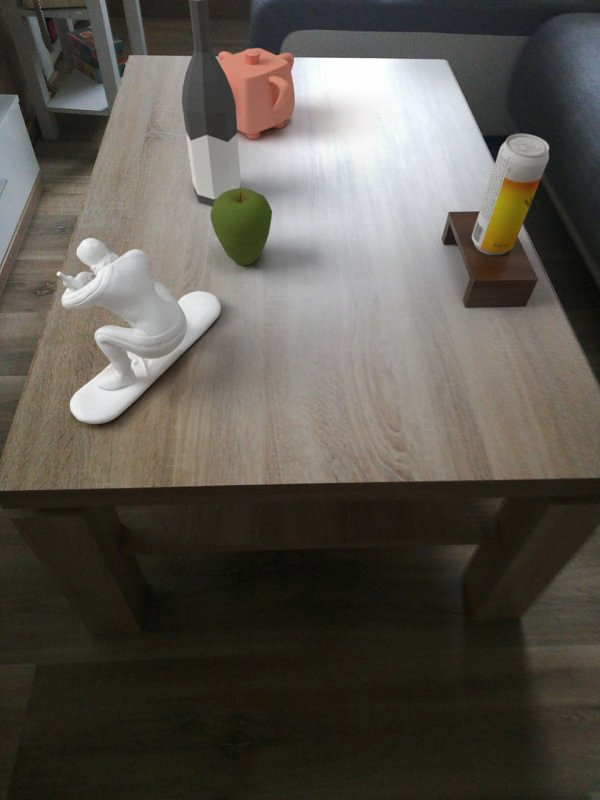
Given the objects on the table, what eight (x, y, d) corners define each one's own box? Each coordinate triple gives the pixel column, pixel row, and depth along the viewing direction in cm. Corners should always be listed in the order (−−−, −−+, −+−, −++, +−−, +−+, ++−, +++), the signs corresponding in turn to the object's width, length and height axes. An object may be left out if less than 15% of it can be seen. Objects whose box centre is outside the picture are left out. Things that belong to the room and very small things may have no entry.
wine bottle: (243, 181, 98) (231, -25, 74) (239, 208, 93) (224, -4, 70) (197, 179, 98) (170, -28, 74) (190, 206, 93) (159, -6, 70)
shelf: (525, 306, 81) (538, 279, 77) (465, 307, 80) (474, 280, 76) (495, 237, 90) (505, 210, 86) (441, 238, 90) (448, 211, 86)
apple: (272, 242, 88) (271, 174, 79) (272, 278, 83) (271, 210, 74) (217, 242, 88) (209, 174, 79) (214, 277, 83) (205, 209, 74)
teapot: (293, 106, 116) (294, 34, 105) (295, 145, 106) (296, 71, 96) (212, 105, 115) (205, 33, 105) (206, 145, 105) (198, 69, 95)
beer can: (520, 252, 80) (562, 152, 68) (485, 261, 79) (521, 161, 67) (497, 228, 84) (533, 128, 72) (462, 236, 82) (493, 136, 70)
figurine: (173, 283, 82) (152, 177, 68) (245, 317, 78) (237, 211, 64) (38, 400, 68) (-21, 297, 55) (117, 448, 64) (74, 349, 51)
